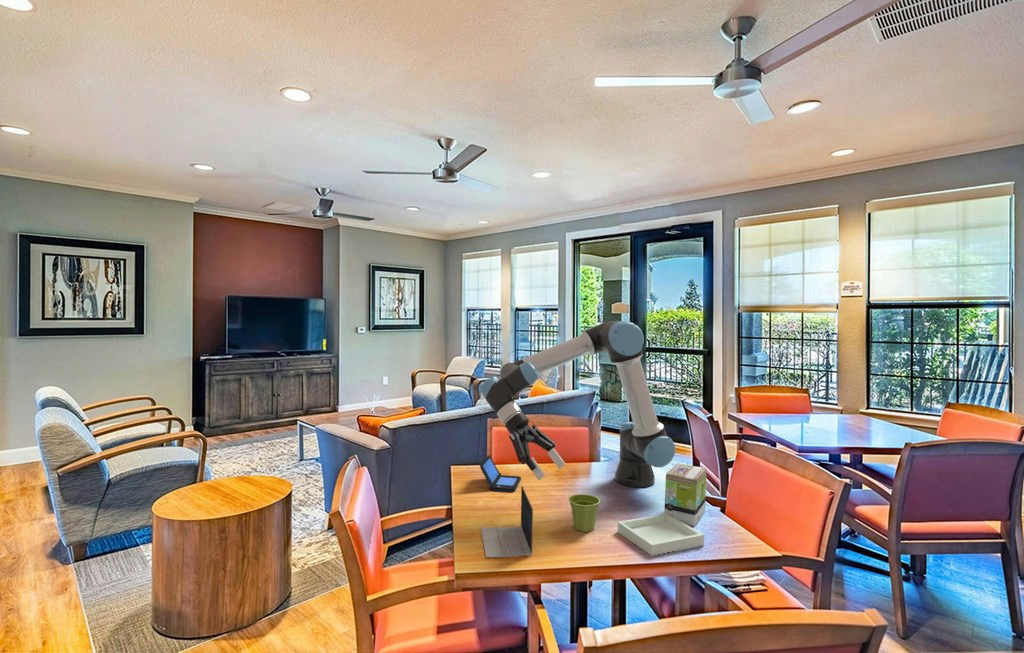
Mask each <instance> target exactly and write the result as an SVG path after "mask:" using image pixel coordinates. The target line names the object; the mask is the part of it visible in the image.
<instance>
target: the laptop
mask: <svg viewBox="0 0 1024 653" xmlns="http://www.w3.org/2000/svg"><path fill="white" fill-rule="evenodd" d="M520 490H521V491H520V492H521V497H520V498H521V500H520V502H521V503H520V504H521V505H520V507H521V508H520V526H517V525H516V526H500V527H496V526H494V527H481V528H480V532H481V537H482V542H483V548H484V556H485V558H491V559H492V558H514V557H513V556H516V557H515V558H520V557H519V556H526V555H527V557H532V556H533V544H534V542H533V538H534V537H533V536H534V534H533V533H534V531H533V530H534V527H533V525H534V524H533V523H534V508H533V506H532V504H531V502H530V500H529V498H528V496H527V493H526V491H525V488H524V487H523V486H521V489H520ZM511 556H512V557H511Z"/></svg>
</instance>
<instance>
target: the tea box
mask: <svg viewBox="0 0 1024 653" xmlns="http://www.w3.org/2000/svg"><path fill="white" fill-rule="evenodd" d="M707 474H708V473H707V468H706V467H700V466H693V465H689V464H683V463H679V462H678V463H675V465H674V466H673V467H672V468H671V469H670V470H669V471H668V472H666V474H665V490H664V507H663V508H664V510H663V511H664V512H663V514H668V515H670V516H672V517H673V518H675V519H677V520H679V521H681V522H682V523H684V524H686V525H688V526H693V527H694V526H696V525H697V523H698V522H699V520H700V519H701V518H702V516H703V515H704V512H706V502H707V501H706V500H707V499H706V498H707V497H706V495H707Z"/></svg>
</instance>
